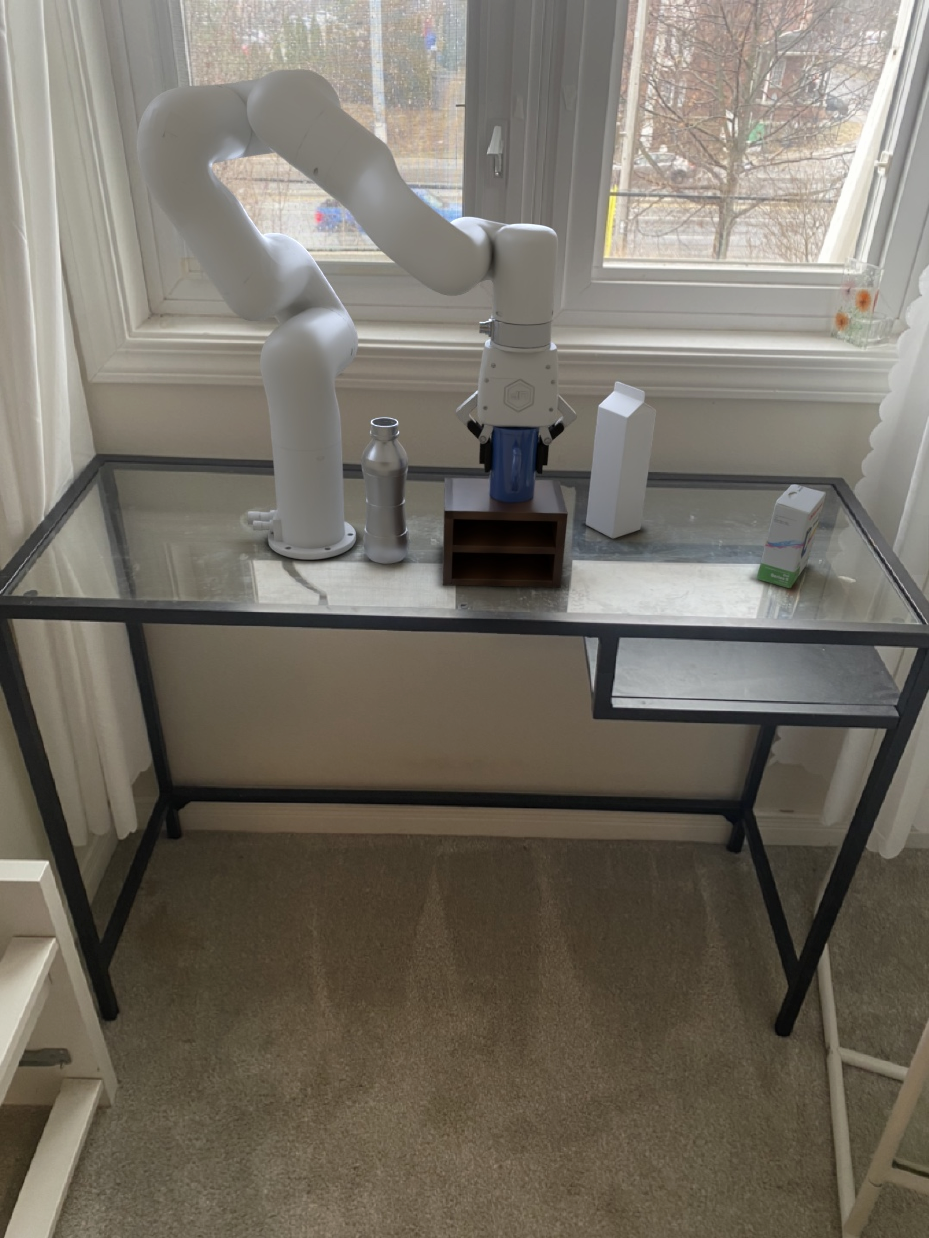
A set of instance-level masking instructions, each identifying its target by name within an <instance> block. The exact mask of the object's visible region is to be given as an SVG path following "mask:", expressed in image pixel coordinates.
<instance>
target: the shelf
mask: <svg viewBox="0 0 929 1238" xmlns="http://www.w3.org/2000/svg"><path fill="white" fill-rule="evenodd" d="M443 486H444V487H443V488H444V489H443V528H442V529H443V532H442V533H443V534H442V586H469V587H470V586H474V587H476V586H477V587H478V586H479V587H521V588H523V587H524V588H525V587H527V588H528V587H530V588H561V587H562V580H563V579H562V578H563V569H564V557H565V547H566V546H565V545H566V536H567V524H568V515H569V513H568V509H567V505H566V501H565V498H564V493H563V490H562V489H563V488H562V485H561V482H560V480H558V479H557V480H553V479H552V480H551V479H535V492H534V497H533V498H532V499H530V500H528V501H525V502H519V503H509V502H502V501H498V500H496V499H494V498H492V497H491V496H490V495H489V493H488V489H489V478H472V477H471V478H470V477H469V478H468V477H467V478H466V477H444V484H443Z"/></svg>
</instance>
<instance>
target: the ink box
mask: <svg viewBox="0 0 929 1238" xmlns="http://www.w3.org/2000/svg"><path fill="white" fill-rule="evenodd" d="M826 496H827V492H826V491H821V490H817V489H814V488H810V487H806V486H802V485H799V484H794V483H793V484H791V485H790V486H789V487H788V488H787V489H786V490H785V491H784V492H783V494H781V495H780V496H779V497H778V499H776V502H775V504H774V507H773V511H772V514H771V520H770V524H769V528H768V531H767V536H766V540H765V544H764V547H763V552H762V556H761V560H760V564H759V568H758V571H757V572H758V573H757V576H756V580H758V581H763V582H766V583H769V584H773V585H776V586H780V587H784V588H787V589H791V588H792V587H793V586H794V584H795V583H796V581H797V580H798V578H799V576H800V575H801V573H802V572H803V570H804V569H805V568H806V566H807V565H808V562H809V558H810V555H811V552H812V548H813V544H814V540H815V537H816V533H817V529H818V525H819V522H820V518H821V514H822V512H823V511H822V510H823V507H824V504H825V500H826Z"/></svg>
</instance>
